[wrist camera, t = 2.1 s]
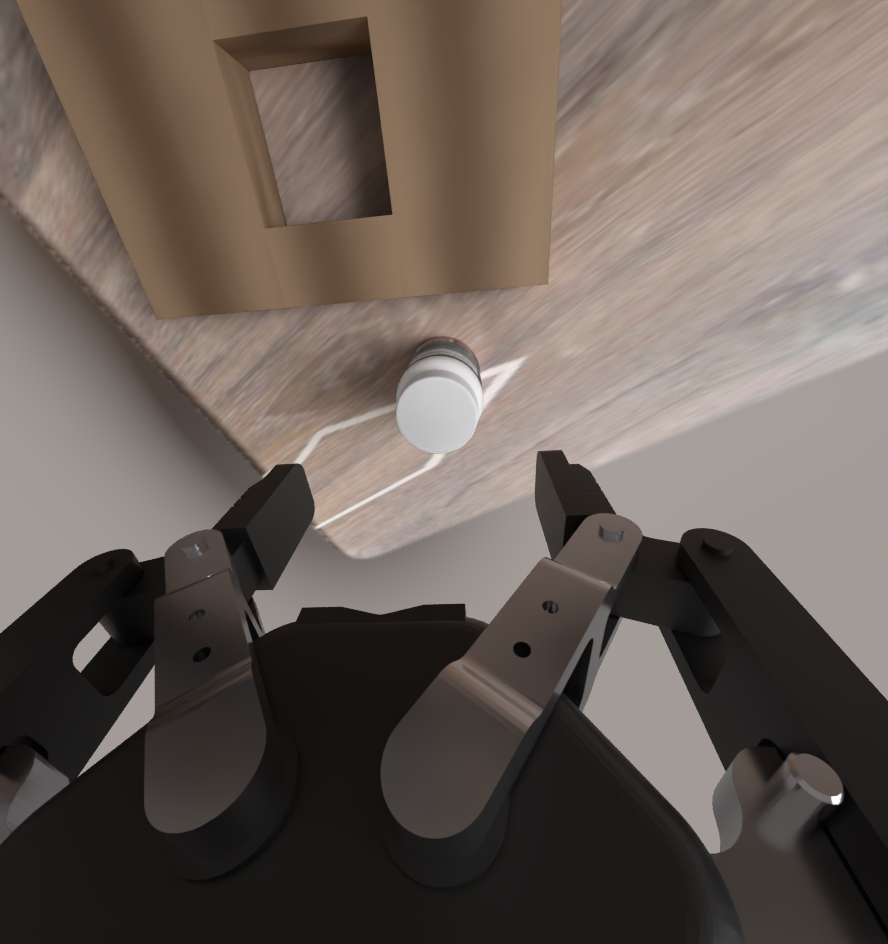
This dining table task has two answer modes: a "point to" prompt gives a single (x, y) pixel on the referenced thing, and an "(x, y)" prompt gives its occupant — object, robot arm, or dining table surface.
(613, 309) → the dining table surface
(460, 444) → the pill bottle
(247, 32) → the board
